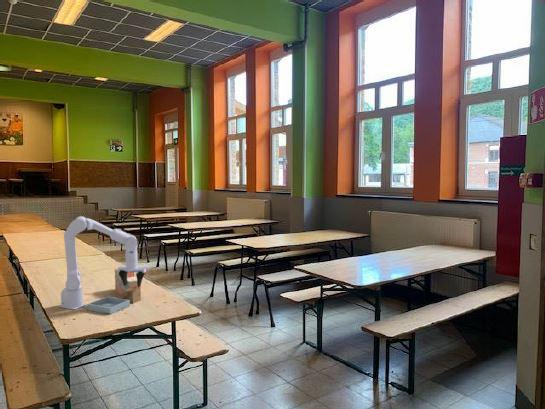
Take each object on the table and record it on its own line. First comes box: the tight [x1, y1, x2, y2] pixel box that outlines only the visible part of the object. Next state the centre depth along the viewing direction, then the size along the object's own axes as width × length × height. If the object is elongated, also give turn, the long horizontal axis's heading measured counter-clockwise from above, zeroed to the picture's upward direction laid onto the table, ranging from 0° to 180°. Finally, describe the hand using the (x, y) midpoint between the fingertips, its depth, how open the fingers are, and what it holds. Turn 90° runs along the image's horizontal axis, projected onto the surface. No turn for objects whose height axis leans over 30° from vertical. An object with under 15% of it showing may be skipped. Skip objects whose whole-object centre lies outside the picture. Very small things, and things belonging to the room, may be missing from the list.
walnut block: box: [123, 288, 142, 305], centre depth 213 cm, size 6×6×6 cm
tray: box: [86, 296, 131, 315], centre depth 202 cm, size 14×13×3 cm
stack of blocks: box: [114, 267, 142, 296], centre depth 227 cm, size 21×6×12 cm, turn 40°
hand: (132, 285), depth 213 cm, fingers open, 7 cm apart
